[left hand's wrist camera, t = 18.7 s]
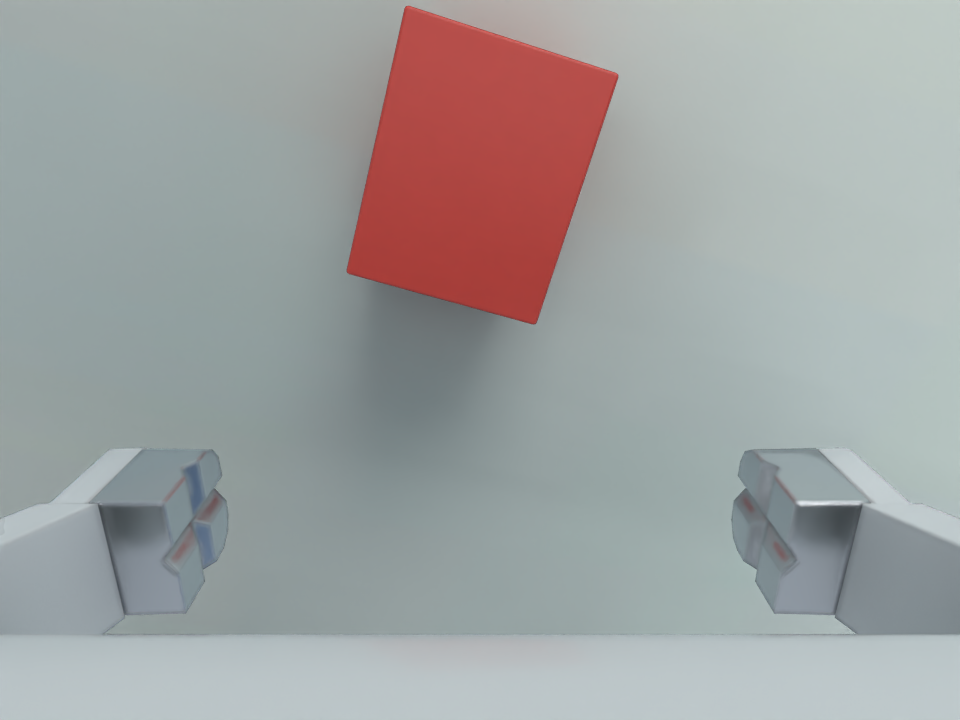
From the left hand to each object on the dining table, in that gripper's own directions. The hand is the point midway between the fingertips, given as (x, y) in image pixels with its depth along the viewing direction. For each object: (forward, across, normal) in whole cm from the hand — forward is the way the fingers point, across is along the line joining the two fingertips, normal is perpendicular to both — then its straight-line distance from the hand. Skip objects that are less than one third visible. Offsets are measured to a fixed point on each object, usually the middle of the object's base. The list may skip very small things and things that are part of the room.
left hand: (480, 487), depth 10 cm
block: (+9, 0, -4) cm, 10 cm away
